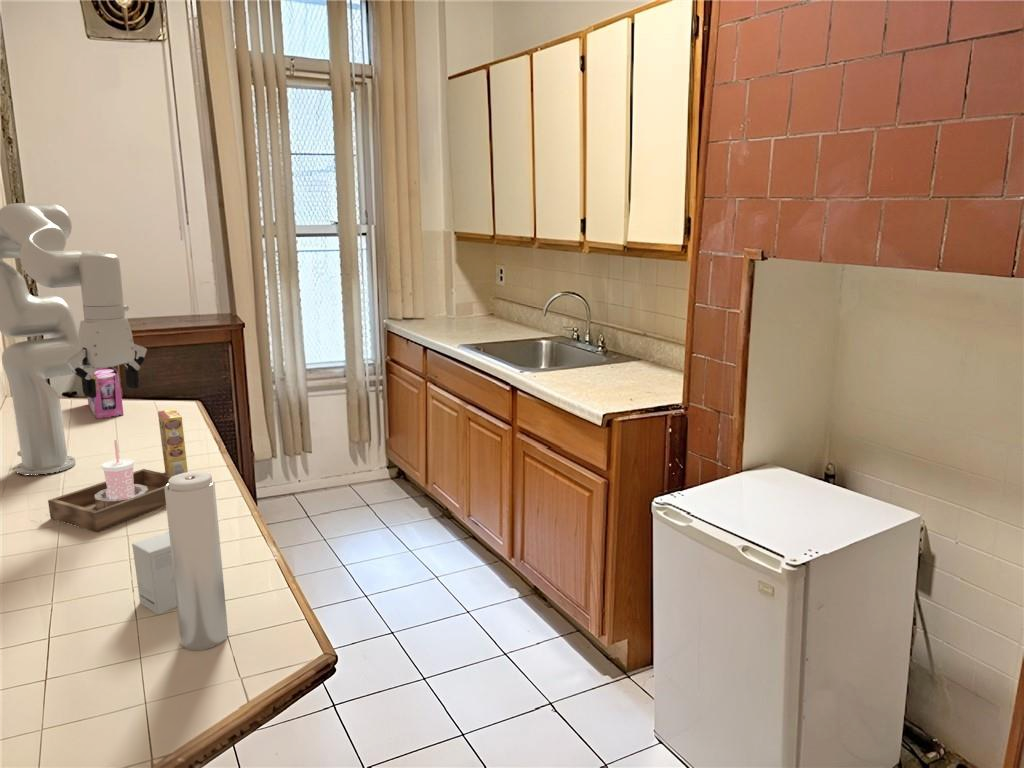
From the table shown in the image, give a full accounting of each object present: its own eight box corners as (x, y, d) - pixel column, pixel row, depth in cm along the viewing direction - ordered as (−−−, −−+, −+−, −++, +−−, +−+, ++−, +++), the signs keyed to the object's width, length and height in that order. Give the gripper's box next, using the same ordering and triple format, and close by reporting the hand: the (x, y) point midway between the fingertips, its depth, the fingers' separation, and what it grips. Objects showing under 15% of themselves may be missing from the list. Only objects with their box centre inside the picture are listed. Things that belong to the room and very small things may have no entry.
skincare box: (199, 578, 128) (193, 521, 126) (219, 590, 124) (214, 531, 122) (137, 602, 120) (130, 541, 118) (156, 615, 116) (150, 553, 114)
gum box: (125, 416, 233) (120, 373, 230) (96, 420, 228) (91, 376, 225) (114, 401, 252) (109, 361, 249) (87, 404, 247) (82, 364, 244)
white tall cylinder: (189, 627, 113) (173, 470, 107) (233, 625, 113) (219, 469, 108) (174, 652, 106) (156, 485, 101) (220, 649, 107) (205, 484, 102)
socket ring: (85, 507, 157) (84, 496, 157) (128, 492, 166) (127, 481, 166) (116, 515, 153) (115, 504, 152) (159, 499, 162) (157, 488, 161)
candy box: (189, 479, 177) (183, 416, 174) (169, 482, 175) (163, 419, 171) (182, 468, 184) (176, 408, 181) (163, 471, 182) (157, 410, 178)
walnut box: (50, 518, 153) (48, 500, 153) (145, 485, 173) (143, 468, 172) (97, 532, 147) (95, 513, 146) (190, 496, 166) (188, 479, 165)
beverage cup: (116, 510, 155) (109, 446, 152) (100, 504, 159) (92, 441, 156) (144, 501, 161) (137, 439, 158) (127, 496, 164) (120, 434, 161)
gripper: (130, 307, 166) (137, 382, 170) (52, 316, 151) (61, 398, 155) (152, 310, 162) (159, 386, 166) (74, 319, 148) (83, 403, 152)
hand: (112, 392), depth 161 cm, fingers open, 9 cm apart
